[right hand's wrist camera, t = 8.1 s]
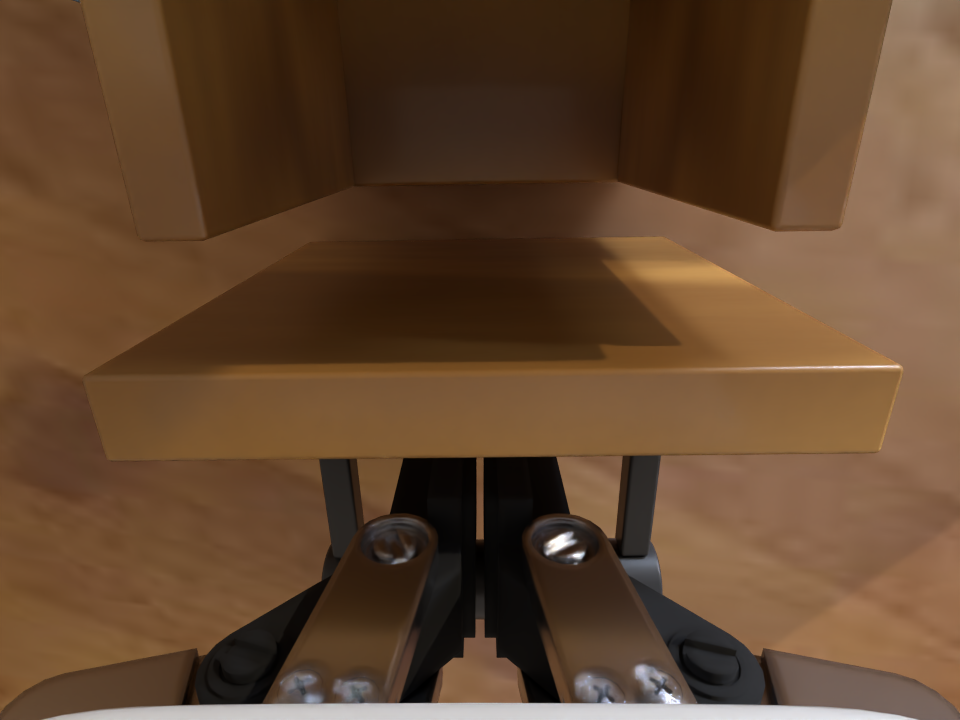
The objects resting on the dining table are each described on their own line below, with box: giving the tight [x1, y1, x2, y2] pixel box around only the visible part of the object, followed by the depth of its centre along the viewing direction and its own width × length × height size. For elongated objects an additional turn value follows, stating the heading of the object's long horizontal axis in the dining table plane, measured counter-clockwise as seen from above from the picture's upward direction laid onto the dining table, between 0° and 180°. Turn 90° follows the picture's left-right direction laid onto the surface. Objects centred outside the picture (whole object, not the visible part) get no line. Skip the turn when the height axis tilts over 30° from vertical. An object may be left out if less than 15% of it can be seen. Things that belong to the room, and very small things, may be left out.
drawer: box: [80, 0, 903, 619], centre depth 9 cm, size 23×10×9 cm, turn 1°
